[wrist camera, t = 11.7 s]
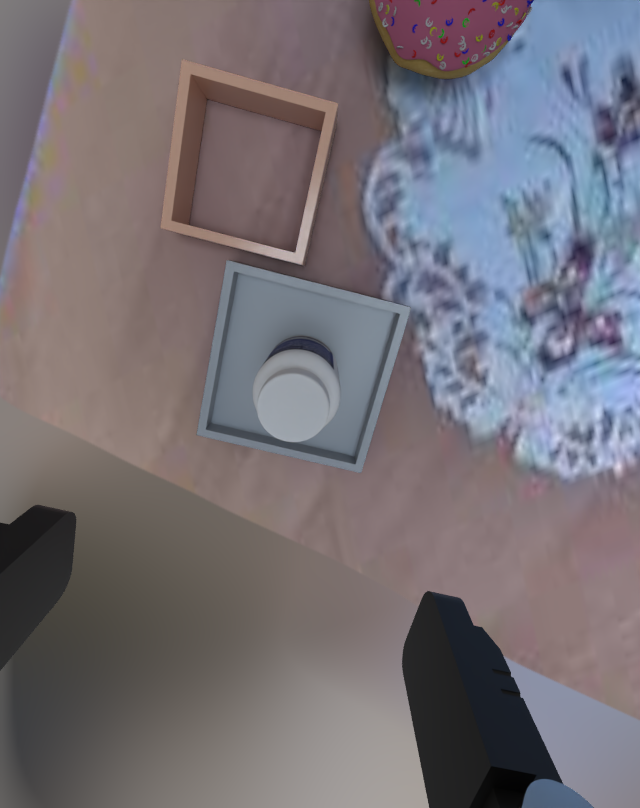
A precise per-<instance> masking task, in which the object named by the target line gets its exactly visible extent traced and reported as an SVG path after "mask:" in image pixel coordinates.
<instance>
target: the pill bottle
mask: <svg viewBox="0 0 640 808" xmlns="http://www.w3.org/2000/svg"><path fill="white" fill-rule="evenodd" d="M252 394H253V402H254V405H255V408H256V410H257V414H258V418H259V420H260V422H261V424H262V426H263V427H264V429H265V430H266V431H267V432H268V433H270V434H271V435H272V436H274V437H275V438H277V439H280V440H283V441H286V442H301V441H305V440H308V439H310V438H312V437H314V436H315V435H316V434H318V433H319V432H320V431H321V430H322V428H323V427H325V426H326V425H327V424H328V423H329V422H330V421H331V420H332V418H333V417H334V415H335V414H336V412H337V409H338V407H339V403H340V395H341V392H340V381H339V375H338V367H337V363H336V360H335V357H334V355H333V353H332V352H331V350H330V349H329V348H328V347H327V346H326V345H325V344H324V343H323V342H321V341H320V340H318V339H316V338H313V337H310V336H303V335H300V336H293V337H290V338H287V339H285V340H283V341H282V342H280V343H279V344H278V345H277V346H276V347H275V348H274V349H273V350H272V352H271V353H270V355H269V356H268V358H267V359H266V361H265V362H264V364H263V365H262V367H261V368H260V369H259V371H258V373H257V375H256V377H255V380H254V384H253V391H252Z"/></svg>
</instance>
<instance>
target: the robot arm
mask: <svg viewBox="0 0 640 808" xmlns="http://www.w3.org/2000/svg"><path fill="white" fill-rule="evenodd" d="M75 529H76V516H75V514H74V513H73V512H69V511H64V510H60V509H55V508H50V507H45V506H41V505H35V506H33V507H31V508H30V509H29V510H27V511H26V512H25V513H24V514H22V515H21V516H20V517H18V518H17V519H16V520H15V521H13V522H12V523H11V524H4V523H0V670H1V669H2V668H3V667H4V666H5V664H6V663H7V662H8V661H9V660H10V658H11V657H12V656H13V655H14V654H15V652H16V651H17V650H18V649H19V647H20V646H21V645H22V644H23V643H24V641H25V640H26V639H27V638H28V637H29V635H30V634H31V633H32V632H33V631H34V629H35V628H36V627H37V626H38V625H39V623H40V622H41V621H42V620H43V618H44V617H45V616H46V615H47V613H48V612H49V611H50V610H51V609H52V608H53V606H54V605H55V604H56V603H57V601H58V600H59V599H60V597H61V596H62V594H63V592H64V591H65V589H66V586H67V584H68V582H69V579H70V575H71V572H72V563H73V552H74V540H75ZM402 668H403V675H404V680H405V685H406V690H407V696H408V701H409V706H410V711H411V716H412V721H413V727H414V732H415V737H416V741H417V747H418V752H419V757H420V762H421V768H422V772H423V777H424V783H425V788H426V793H427V798H428V803H429V808H594V807H593V806H592V805H591V804H590V803H589V802H588V801H587V800H585V799H584V798H583V797H582V796H581V795H579V794H578V793H577V792H575V791H574V790H572V789H571V788H569V787H567V786H566V785H564V784H563V783H562V780H561V778H560V776H559V774H558V772H557V770H556V768H555V766H554V763H553V761H552V759H551V757H550V755H549V753H548V751H547V749H546V746H545V744H544V742H543V740H542V738H541V736H540V734H539V731H538V730H537V727H536V725H535V723H534V721H533V719H532V717H531V714H530V712H529V710H528V708H527V706H526V704H525V701H524V699H523V698H521V697H520V691H519V689H518V687H517V684H516V682H515V680H514V678H513V677H511V672H510V670H509V667H508V665H507V663H506V661H505V659H504V657H503V654H502V652H501V650H500V648H499V647H498V646H497V645H496V644H495V642H494V641H493V640H492V639H491V638H490V637H489V635H488V634H487V633H486V632H485V631H484V629H483V628H482V627H478V626H474V625H473V623H472V621H471V618H470V616H469V614H468V611H467V609H466V606H465V604H464V602H463V601H462V599H460V598H458V597H453V596H448V595H444V594H439V593H435V592H430V591H427V592H426V593H425V594H424V595H423V597H422V600H421V602H420V605H419V607H418V610H417V612H416V615H415V618H414V620H413V623H412V625H411V628H410V630H409V633H408V636H407V638H406V641H405V644H404V649H403V658H402Z"/></svg>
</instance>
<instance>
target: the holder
mask: <svg viewBox="0 0 640 808" xmlns="http://www.w3.org/2000/svg"><path fill="white" fill-rule="evenodd" d="M207 99H208V100H212V101H216V102H219V103H223V104H226V105H230V106H233V107H237V108H241V109H244V110H248V111H251V112H255V113H259V114H262V115H266V116H269V117H273V118H276V119H280V120H284V121H287V122H291V123H294V124H298V125H302V126H305V127H309V128H312V129H316V130H319V131H322V132H321V136H320V141H319V146H318V150H317V155H316V159H315V164H314V169H313V173H312V178H311V183H310V187H309V192H308V196H307V201H306V206H305V210H304V215H303V219H302V224H301V229H300V233H299V238H298V243H297V247H296V252H295V253H294V252H290V251H286V250H282V249H278V248H274V247H271V246H267V245H263V244H259V243H255V242H251V241H248V240H244V239H240V238H236V237H232V236H228V235H225V234H221V233H217V232H213V231H209V230H205V229H202V228H198V227H194V226H190V225H189V221H190V214H191V207H192V200H193V193H194V186H195V180H196V173H197V166H198V159H199V152H200V145H201V138H202V131H203V124H204V117H205V110H206V104H207ZM337 113H338V103H335V102H331V101H328V100H324V99H321V98H317V97H314V96H310V95H307V94H303V93H300V92H296V91H293V90H289V89H286V88H282V87H279V86H275V85H272V84H268V83H264V82H261V81H257V80H254V79H250V78H247V77H243V76H240V75H236V74H233V73H229V72H226V71H222V70H219V69H215V68H212V67H208V66H205V65H201V64H198V63H194V62H190V61H187V60H183V59H182V62H181V70H180V78H179V86H178V94H177V102H176V110H175V118H174V126H173V133H172V141H171V149H170V157H169V165H168V173H167V181H166V189H165V196H164V204H163V212H162V220H161V228H162V229H165V230H168V231H171V232H175V233H178V234H182V235H185V236H189V237H193V238H197V239H201V240H205V241H209V242H212V243H216V244H220V245H224V246H228V247H232V248H236V249H239V250H243V251H247V252H251V253H255V254H259V255H263V256H266V257H270V258H274V259H278V260H282V261H286V262H290V263H293V264H297V265H301V266H305V263H306V259H307V254H308V250H309V245H310V241H311V236H312V232H313V228H314V223H315V219H316V214H317V210H318V205H319V201H320V196H321V192H322V187H323V183H324V179H325V174H326V170H327V165H328V161H329V156H330V152H331V147H332V143H333V139H334V134H335V130H336V125H337Z"/></svg>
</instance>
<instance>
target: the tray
mask: <svg viewBox="0 0 640 808" xmlns="http://www.w3.org/2000/svg"><path fill="white" fill-rule="evenodd" d="M410 310H411V307H408V306H405V305H401V304H397V303H393V302H389V301H385V300H382V299H378V298H374V297H370V296H366V295H362V294H358V293H354V292H350V291H347V290H343V289H339V288H335V287H331V286H327V285H323V284H319V283H315V282H312V281H308V280H304V279H300V278H296V277H292V276H288V275H284V274H280V273H277V272H273V271H269V270H265V269H261V268H257V267H253V266H249V265H245V264H242V263H238V262H234V261H229V260H227V262H226V268H225V273H224V279H223V285H222V291H221V297H220V302H219V308H218V314H217V320H216V325H215V331H214V337H213V343H212V349H211V354H210V360H209V366H208V372H207V378H206V383H205V389H204V395H203V401H202V406H201V412H200V418H199V424H198V430H197V435H199V436H203V437H207V438H212V439H216V440H220V441H225V442H229V443H233V444H238V445H242V446H246V447H251V448H255V449H259V450H263V451H268V452H272V453H276V454H281V455H285V456H289V457H294V458H298V459H302V460H307V461H311V462H315V463H320V464H324V465H328V466H333V467H337V468H341V469H346V470H350V471H354V472H359V473H361V472H362V468H363V465H364V462H365V459H366V455H367V452H368V449H369V445H370V442H371V439H372V435H373V432H374V429H375V425H376V422H377V419H378V416H379V412H380V409H381V406H382V402H383V399H384V396H385V392H386V389H387V386H388V383H389V379H390V376H391V373H392V369H393V366H394V363H395V359H396V356H397V353H398V350H399V346H400V343H401V340H402V336H403V333H404V330H405V326H406V323H407V320H408V317H409V313H410ZM300 335H303V336H310V337H313V338H316V339H318V340H320V341H321V342H323V343H324V344H325V345H326V346H327V347H328V348H329V349H330V350H331V352H332V353H333V355H334V357H335V360H336V363H337V367H338V375H339V381H340V392H341V395H340V403H339V407H338V409H337V412H336V414H335V415H334V417H333V418H332V420H331V421H330V422H329V423H328V424H327V425H326V426H325V427H323V428H322V430H321V431H320V432H319V433H318V434H316V435H315V436H314V437H312V438H310V439H308V440H305V441H301V442H286V441H283V440H280V439H277V438H275V437H274V436H272V435H271V434H270V433H268V432H267V431H266V430H265V429H264V427H263V426H262V424H261V422H260V420H259V418H258V414H257V410H256V408H255V405H254V402H253V394H252V391H253V384H254V380H255V377H256V375H257V373H258V371H259V369H260V368H261V367H262V365H263V364H264V362H265V361H266V359H267V358H268V356H269V355H270V353H271V352H272V350H273V349H274V348H275V347H276V346H277V345H278V344H279V343H280V342H282V341H283V340H285V339H287V338H290V337H293V336H300Z"/></svg>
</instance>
